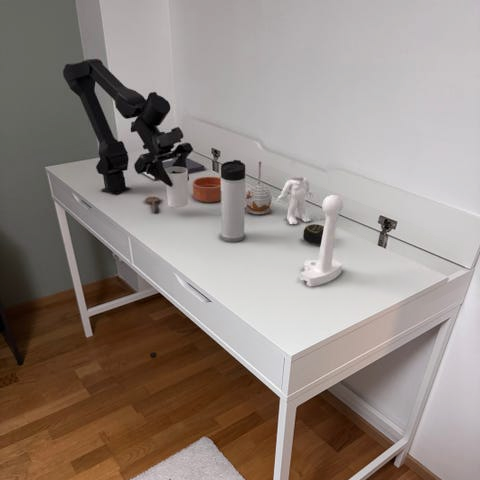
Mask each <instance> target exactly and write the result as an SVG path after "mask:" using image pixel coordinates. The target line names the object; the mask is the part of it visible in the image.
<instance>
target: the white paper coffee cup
mask: <svg viewBox="0 0 480 480" xmlns="http://www.w3.org/2000/svg"><path fill="white" fill-rule="evenodd" d="M165 171H166V173H167V174H168V176H169V178H170V180H171V181H172V184H173V186H172V187H170V186H168V185H167V184H165V188H166V189H165V190H166V197H167V205H168V206H169V207H170V208H184V207H186V206H188V204H189V203H188V202H189V200H188V198H189V196H188V195H189V192H188V191H189V190H188V189H189V188H188V187H189V186H188V185H189V183H188V182H189V180H188V176H189V173H188V170H187V169H186V168H184V167H169V168H166V169H165Z"/></svg>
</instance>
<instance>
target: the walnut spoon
mask: <svg viewBox="0 0 480 480" xmlns="http://www.w3.org/2000/svg"><path fill="white" fill-rule="evenodd" d="M144 201H145V203H146V204H148V205H151V206H152V207H151V208H152V210H153V213H155V214H157V213H158V207H157V206H158V205H157V204H159V203H161V200H160V197H158V196H148V197H146V198H145V200H144Z"/></svg>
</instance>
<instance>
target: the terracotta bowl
mask: <svg viewBox="0 0 480 480" xmlns="http://www.w3.org/2000/svg"><path fill="white" fill-rule="evenodd" d="M192 196H193V198H194V199H195V200H197V201H199V202H203V203H217V202H221V177H217V176H202V177H198V178H195V179H193V180H192Z"/></svg>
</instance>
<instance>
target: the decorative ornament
mask: <svg viewBox="0 0 480 480" xmlns="http://www.w3.org/2000/svg"><path fill="white" fill-rule="evenodd" d="M261 173H262V161H261V160H259V161H258V175H257V176H258V177H257V179H258V180H257V184H255V186H254V185H252V186H251V187H250V188H249V189H248V190H247V193H246V192H245V203H246V204H245V212H247V213H249V214H252V215H253V214H254V215H264V214H268V213H270V212H271V211H272V207H271V205H272V203H273V202H272V200H273V195H272V194H271V191H270V189H268V187H266V186H264V185H263V184H261V179H262V178H261V177H262V176H261V175H262V174H261Z"/></svg>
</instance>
